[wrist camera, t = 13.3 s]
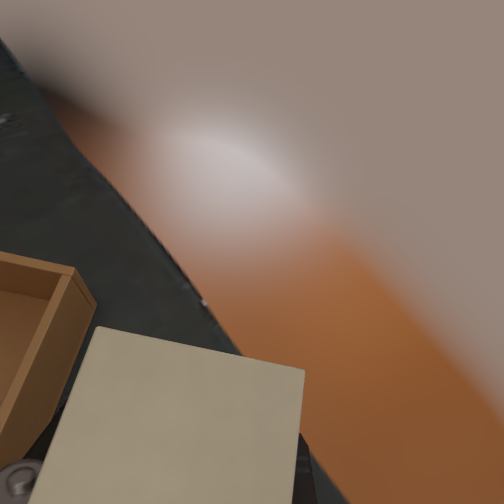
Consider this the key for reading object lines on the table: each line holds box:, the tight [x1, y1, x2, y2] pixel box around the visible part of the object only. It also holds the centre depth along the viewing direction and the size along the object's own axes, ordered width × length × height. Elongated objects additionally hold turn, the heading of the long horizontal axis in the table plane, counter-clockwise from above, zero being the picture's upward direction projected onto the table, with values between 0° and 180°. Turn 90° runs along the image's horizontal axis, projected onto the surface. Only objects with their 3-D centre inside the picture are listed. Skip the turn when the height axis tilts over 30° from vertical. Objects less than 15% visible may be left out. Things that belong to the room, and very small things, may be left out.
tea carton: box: [27, 326, 305, 504], centre depth 11 cm, size 6×5×10 cm
